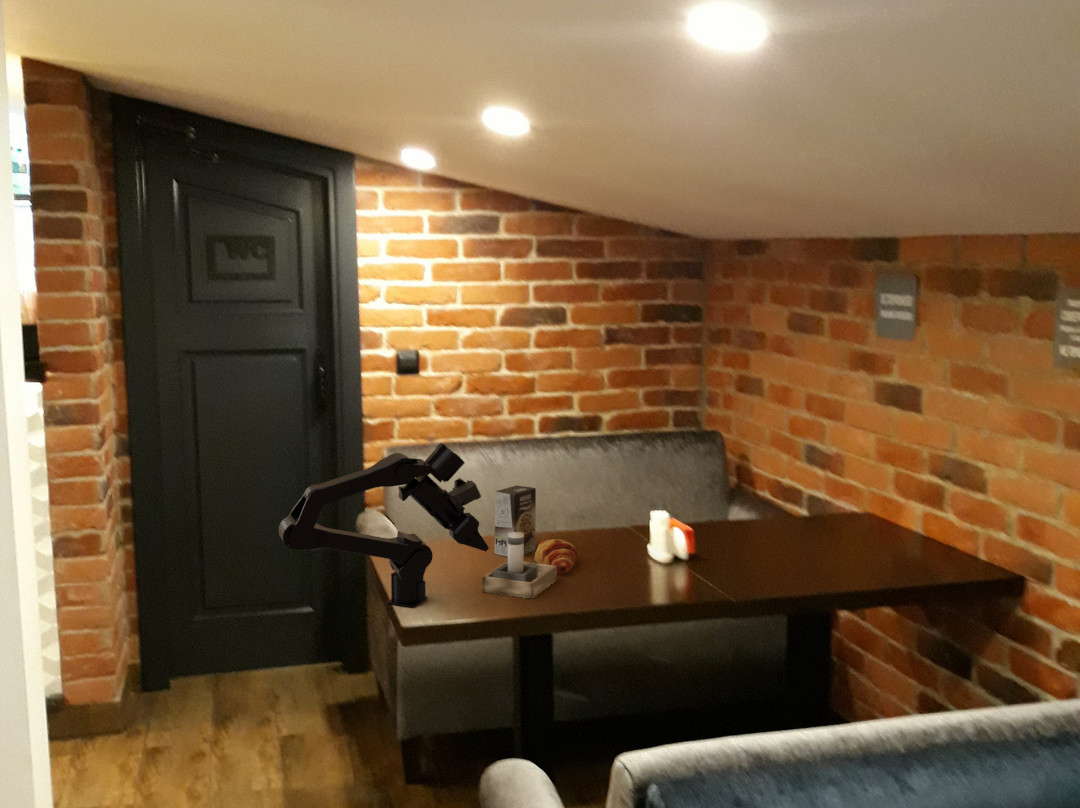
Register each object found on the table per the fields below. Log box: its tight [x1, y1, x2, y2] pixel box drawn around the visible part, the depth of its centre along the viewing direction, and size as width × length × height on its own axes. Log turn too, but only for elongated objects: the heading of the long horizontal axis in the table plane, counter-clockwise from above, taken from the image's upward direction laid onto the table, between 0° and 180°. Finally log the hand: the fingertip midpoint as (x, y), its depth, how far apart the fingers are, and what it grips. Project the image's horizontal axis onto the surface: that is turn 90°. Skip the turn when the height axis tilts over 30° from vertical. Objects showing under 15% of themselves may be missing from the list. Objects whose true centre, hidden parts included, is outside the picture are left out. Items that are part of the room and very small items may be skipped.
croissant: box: [533, 538, 578, 575], centre depth 256 cm, size 21×10×8 cm, turn 11°
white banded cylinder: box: [507, 532, 525, 574], centre depth 237 cm, size 4×4×12 cm
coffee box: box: [494, 484, 537, 558], centre depth 265 cm, size 9×6×16 cm
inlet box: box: [481, 560, 558, 600], centre depth 240 cm, size 12×14×5 cm
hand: (481, 543), depth 234 cm, fingers open, 9 cm apart
